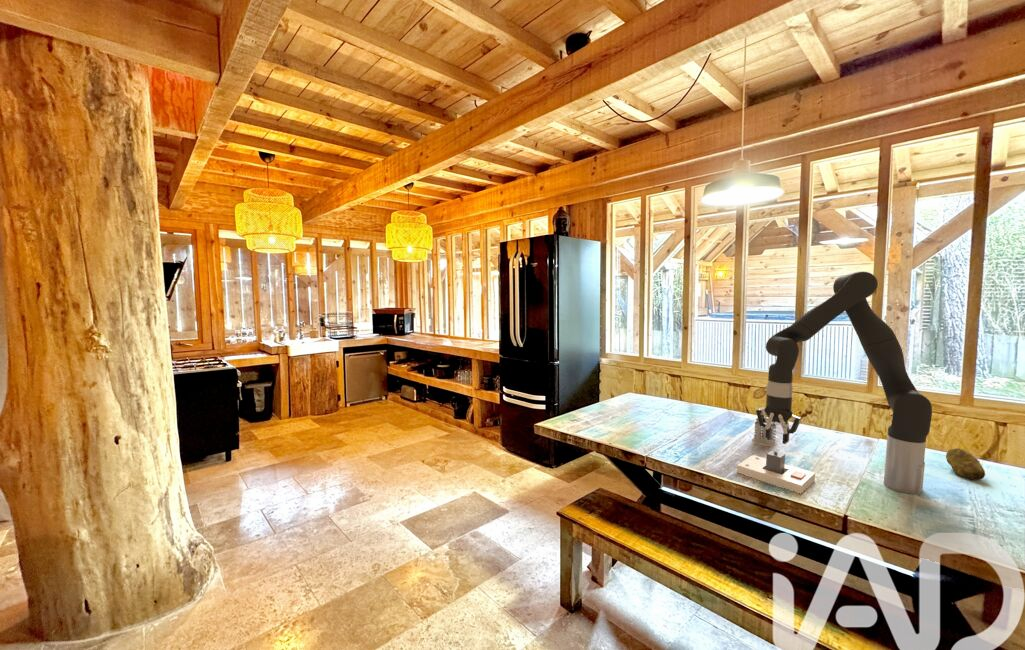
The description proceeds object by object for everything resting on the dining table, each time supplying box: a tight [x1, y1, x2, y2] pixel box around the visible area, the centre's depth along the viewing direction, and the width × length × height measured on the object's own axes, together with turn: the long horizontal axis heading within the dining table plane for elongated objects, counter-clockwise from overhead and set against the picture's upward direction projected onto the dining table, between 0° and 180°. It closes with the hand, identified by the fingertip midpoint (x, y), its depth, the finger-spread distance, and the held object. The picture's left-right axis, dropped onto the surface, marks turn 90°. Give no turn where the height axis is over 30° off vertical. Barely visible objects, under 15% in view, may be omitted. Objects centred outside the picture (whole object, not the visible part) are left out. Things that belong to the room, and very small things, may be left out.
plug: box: [765, 450, 786, 475], centre depth 146 cm, size 4×4×9 cm
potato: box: [945, 448, 986, 481], centre depth 147 cm, size 8×13×8 cm, turn 143°
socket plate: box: [736, 454, 816, 495], centre depth 146 cm, size 20×14×4 cm
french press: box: [751, 385, 779, 447], centre depth 176 cm, size 10×12×25 cm
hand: (776, 441), depth 145 cm, fingers open, 4 cm apart
